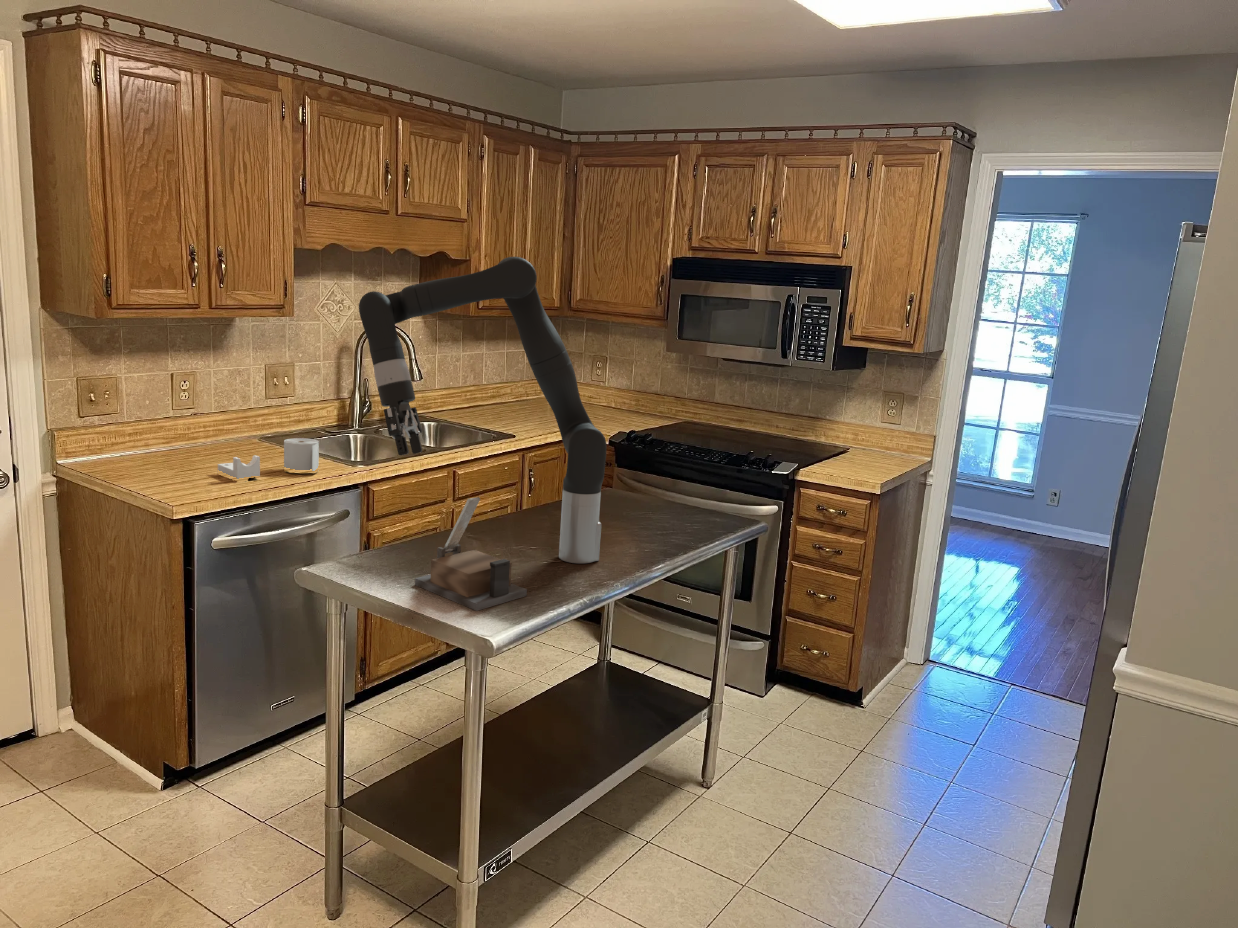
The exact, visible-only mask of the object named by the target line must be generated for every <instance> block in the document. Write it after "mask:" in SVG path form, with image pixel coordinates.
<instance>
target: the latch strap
mask: <svg viewBox="0 0 1238 928" xmlns="http://www.w3.org/2000/svg"><path fill="white" fill-rule="evenodd" d="M480 501H481V498H480V496H477V497H472V498H467V500H466V502H465V504H464V506H463V508H462V509H461V512H460V515H459V516H458V518H457V520H456V523H455V525H454V527H453V529H452V530H451V532H450V535H449V537H448V538H447V541H446V543H445V544H444V547H443V548H445V554H449V553H453V552H454V551H456V547H457V545H458V544H459V542H460V540H461V539H462V536H463V534H464V533H465V531H466V530H467V527H468V525H469V523H470V521H471V519H472V517H473V515H474V513H475V510H476V509H477V507H478V505H479V503H480Z"/></svg>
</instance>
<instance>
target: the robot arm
mask: <svg viewBox="0 0 1238 928" xmlns="http://www.w3.org/2000/svg"><path fill="white" fill-rule="evenodd" d="M537 276H538V274H537V272H536V269H535V267H534V266H533V264H532V263H531V262H530V261H528V260H527V259H525V258H523V257H519V256H508V257H505V258H503V259H502V260H500V261H499V262H498V263H497V264H496V265H494V266H491V267H488V268H486V269H483V270H479V271H476V272H472V273H469V274H464V275H459V276H453V277H445V278H438V279H432V280H429V281H423V282H419V283H416V284H411V285H408V286H406V287H404V288H402V289H401V290H400V291H396V292H393V293H390V294H384V293H383V292H379V291H376V290H375V291H373V290H372V291H369V292H366V293H364V295H363V296H362V297H361V298H360V300H359V303H358V314H359V317H360V320H361V321H360V322H361V324H362V327H363V329H364V333H365V335H366V336H365V337H366V338H367V342H368V347H369V354H370V358H371V362H372V366H373V373H374V378H375V382H376V383H375V384H376V387H377V391H378V395H379V397H378V398H379V400H380V405H381V406H382V407H385V408H384V409H383V414H384V419H385V423H386V428H387V433H388V436H389V437H392V439H393V440H394V441H395V445H396V449H397V454H398V456H405V455H408V454H409V453H410V451H409V447H408V441H407V438H406V437H408V440H409V444H410V449H411V453H412V454H413V455H416V454H420V453H423V447H422V442H421V439H420V435H421V433H422V432H423V429H422V425H421V421H420V418H419V414H418V410H417V408H416V407H415V406H414V407H411V405H410V403H411V402H413V401H415V400H416V395H415V391H414V387H413V381H412V378H411V373H410V369H409V366H408V365H407V361H406V358H405V354H404V350H403V345H402V342H401V339H400V337H399V336H398V335H399V334H398V332H397V327H396V324H399V323H402V322H405V321H407V320H410V319H413V318H419V317H422V316H427V315H432V314H435V313H436V314H437V313H439V312H443V311H447V310H451V309H453V308H458V307H461V306H464V305H468V304H472V303H478V302H483V301H488V300H498V299H503V300H504V302H505V304H506V306H507V308H508V310H509V312H510V313H511V316H512V317H513V320H514V323H515V325H516V328H517V330H518V335H519V337H520V341H521V344H522V347H523V351H524V354H525V356H526V358H527V361H528V364H529V366H530V368H531V371H532V373H533V375H534V378H535V380H536V383H537V384H538V386H539V388H540V390H541V392H542V394H543V396H544V397H545V400H546V401H547V403H548V405H549V406H550V408H551V411H552V412H553V415H554V417H555V419H556V424H557V427H558V431H559V433H560V437H561V441H562V444H563V448H564V449H565V451H566V453H567V463H566V465H567V466H566V474H565V476H564V478H563V483H562V494H561V495H562V496H561V497H562V499H561V500H562V501H561V517H560V531H559V534H560V535H559V544H558V545H559V546H558V558H559V559H560V560H561V561H564V562H566V563H570V564H571V563H572V564H590V563H593V562H598V561H599V560H600V550H601V549H600V547H601V536H602V534H601V533H602V523H601V521H600V508H601V496H602V492H601V491H602V485H603V482H604V480H605V469H606V461H607V439H606V437H605V435H604V434H603V433H602V431H601V430H599V429H598V428H597V427H596V426H595V425H594V423H593V422H592V420H591V419H590V417H589V415H588V413H587V410H586V409H585V407H584V404H583V401H582V399H581V396H580V390H579V386H578V381H577V377H576V374H575V370H574V367H573V363H572V360H571V358H570V356H569V353H568V351H567V348H566V346H565V344H564V342H563V340H562V338H561V336H560V334H559V333H558V331H557V329H556V328H555V325H554V324H553V322H552V321H551V319H550V317H549V316H548V314H547V313H546V311H545V307H544V306H543V303H542V301H541V297H540V295H539V292H538V288H537V285H536V284H537V279H538V277H537ZM406 435H407V436H406Z"/></svg>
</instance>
